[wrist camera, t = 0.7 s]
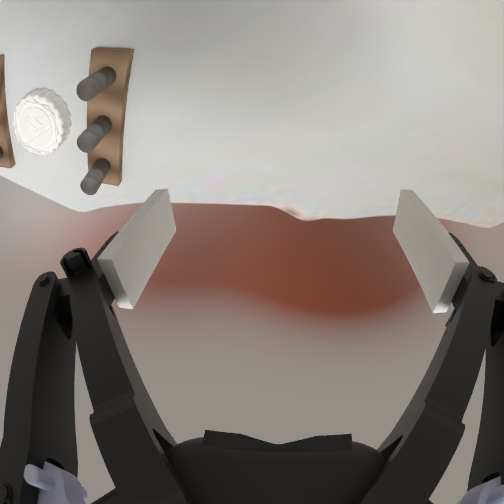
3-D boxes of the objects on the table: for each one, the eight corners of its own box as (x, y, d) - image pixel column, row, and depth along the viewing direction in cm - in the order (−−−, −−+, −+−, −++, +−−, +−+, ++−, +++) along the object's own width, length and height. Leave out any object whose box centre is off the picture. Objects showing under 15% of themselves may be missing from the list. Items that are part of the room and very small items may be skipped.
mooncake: (53, 75, 28) (40, 83, 26) (83, 131, 37) (73, 142, 35) (13, 107, 30) (1, 116, 28) (41, 155, 39) (31, 166, 37)
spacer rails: (-16, 58, 20) (-44, 75, 16) (133, 49, 28) (110, 62, 23) (-3, 161, 38) (-22, 184, 33) (121, 181, 46) (106, 209, 41)
